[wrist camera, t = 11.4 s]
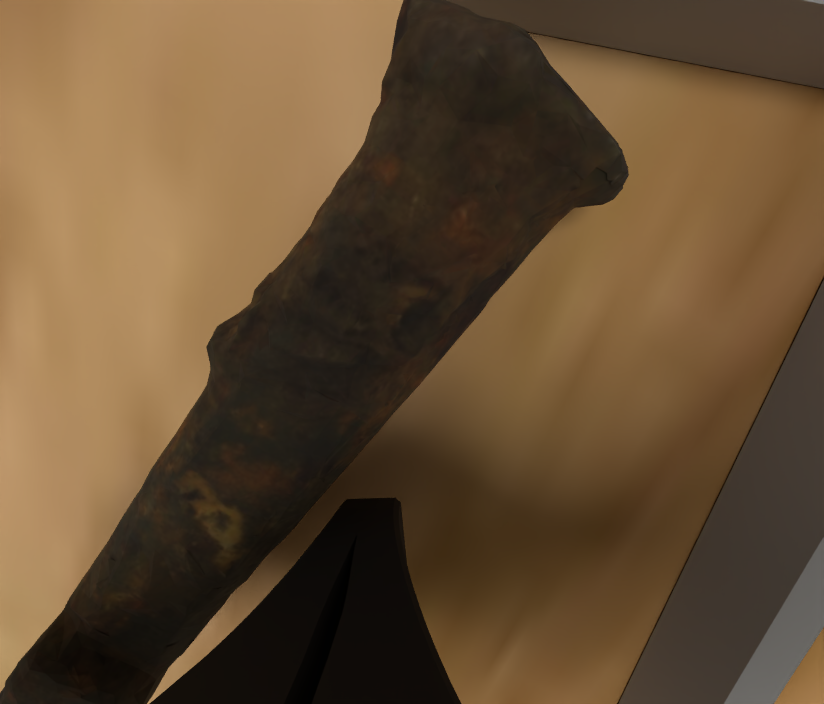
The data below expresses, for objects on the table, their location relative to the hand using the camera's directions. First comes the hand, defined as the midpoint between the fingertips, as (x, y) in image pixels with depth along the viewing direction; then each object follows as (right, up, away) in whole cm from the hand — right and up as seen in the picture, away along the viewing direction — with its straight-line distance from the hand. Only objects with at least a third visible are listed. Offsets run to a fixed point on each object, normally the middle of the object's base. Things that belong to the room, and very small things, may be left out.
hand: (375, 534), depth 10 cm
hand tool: (-3, +2, +1) cm, 3 cm away
